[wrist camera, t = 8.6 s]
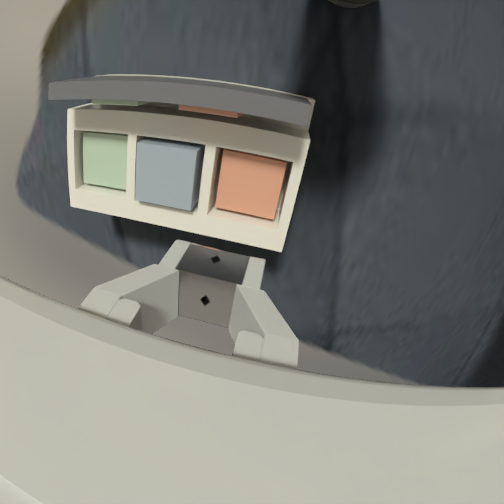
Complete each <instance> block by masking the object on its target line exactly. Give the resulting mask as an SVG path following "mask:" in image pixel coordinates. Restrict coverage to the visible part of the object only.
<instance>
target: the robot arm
mask: <svg viewBox="0 0 504 504" xmlns="http://www.w3.org/2000/svg"><path fill="white" fill-rule="evenodd" d="M265 262H266V260H265V259H261V258H256V257H251V256H245V255H240V254H236V253H231V252H226V251H221V250H219V249H215V248H211V247H207V246H203V245H199V244H195V243H191V242H187V241H183V240H176V241H175V242H174V243H173V245H172V246H171V247H170V249H169V250H168V252H167V253H166V255H165V256H164V258H163V259H162V260H161V262H160V263H159V265H157V264H153V265H150V266H148V267H145V268H143V269H140V270H137V271H135V272H132V273H130V274H127V275H124V276H122V277H119V278H117V279H114V280H112V281H109V282H107V283H104V284H102V285H99V286H97V287H94V289H93V290H92V291H91V293H90V294H89V295H88V296H87V297H86V299H85V300H84V301H83V302H82V304H81V305H80V306H79V308H78V309H77V308H74V307H72V306H69V305H67V304H64V303H62V302H59V301H57V300H54V299H52V298H49V297H47V296H45V295H42V294H40V293H37V292H35V291H33V290H31V289H28V288H26V287H24V286H22V285H19V284H17V283H15V282H13V281H11V280H9V279H6V278H4V277H2V276H0V504H504V387H447V386H428V385H413V384H401V383H390V382H380V381H371V380H363V379H355V378H348V377H340V376H333V375H326V374H320V373H314V372H308V371H302V370H297V365H298V349H299V348H298V347H299V340H298V339H297V338H296V336H295V335H294V333H293V332H292V330H291V329H290V327H289V326H288V324H287V323H286V322H285V320H284V319H283V317H282V316H281V314H280V313H279V311H278V310H277V308H276V307H275V306H274V304H273V303H272V301H271V300H270V298H269V297H268V295H267V294H266V292H265V291H264V290H260V287H261V282H262V277H263V272H264V267H265ZM178 315H179V316H183V317H187V318H191V319H196V320H200V321H204V322H207V323H211V324H215V325H218V326H222V327H226V328H228V330H229V332H230V335H231V338H232V340H233V343H234V345H235V347H234V351H233V354H232V356H230V355H226V354H222V353H218V352H213V351H210V350H206V349H202V348H198V347H195V346H191V345H187V344H183V343H180V342H176V341H173V340H169V339H166V338H162V337H159V336H156V335H152V334H153V333H154V332H155V331H157V330H159V329H160V328H161V327H163V326H164V325H166V324H167V323H169V322H170V321H172V320H173V319H175V318H176V317H178Z"/></svg>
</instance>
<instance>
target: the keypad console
mask: <svg viewBox="0 0 504 504" xmlns="http://www.w3.org/2000/svg"><path fill="white" fill-rule="evenodd" d="M58 99H92V103H89V104H85V105H81V106H77V107H73V108H70V109H68V112H67V154H68V177H69V191H70V203H71V207H76V208H81V209H86V210H90V211H95V212H100V213H104V214H109V215H114V216H118V217H123V218H128V219H132V220H137V221H141V222H146V223H151V224H155V225H160V226H164V227H169V228H174V229H178V230H183V231H187V232H192V233H197V234H201V235H206V236H210V237H215V238H219V239H224V240H228V241H233V242H237V243H242V244H246V245H251V246H255V247H260V248H264V249H269V250H273V251H278V252H282V249H283V245H284V242H285V238H286V234H287V230H288V227H289V223H290V219H291V215H292V211H293V208H294V204H295V200H296V196H297V192H298V188H299V184H300V180H301V176H302V172H303V168H304V164H305V160H306V156H307V152H308V148H309V144H310V136H309V132H308V130H309V125H310V121H311V117H312V113H313V108H314V104H315V100H314V99H313V98H309V97H305V96H301V95H297V94H292V93H287V92H283V91H278V90H273V89H268V88H262V87H257V86H251V85H245V84H238V83H232V82H224V81H217V80H208V79H199V78H189V77H177V76H162V75H138V74H110V75H100V76H94V77H86V78H78V79H71V80H64V81H58V82H52V83H49V92H48V100H58ZM85 131H96V132H108V133H119V134H128V144H127V175H126V190H124V189H118V188H113V187H107V186H101V185H95V184H89V183H84V174H83V132H85ZM148 137H155V138H163V139H171V140H178V141H185V142H191V143H198V144H204V145H205V153H204V160H203V168H202V177H201V185H200V194H199V200H198V202H197V203H196V204H195V206H194V207H193V208H192V210H191V211H188V210H183V209H178V208H173V207H168V206H163V205H158V204H153V203H148V202H143V201H138V200H135V181H136V154H137V142H139V141H141V140H144V139H146V138H148ZM225 148H227V149H232V150H238V151H243V152H248V153H253V154H258V155H263V156H267V157H272V158H277V159H281V160H286V161H287V165H286V169H285V174H284V178H283V182H282V187H281V191H280V195H279V200H278V204H277V208H276V212H275V217H274V220H273V219H268V218H264V217H259V216H255V215H250V214H246V213H241V212H236V211H232V210H227V209H222V208H217V207H215V205H216V197H217V190H218V183H219V176H220V170H221V163H222V156H223V150H224V149H225Z"/></svg>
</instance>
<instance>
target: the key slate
mask: <svg viewBox="0 0 504 504" xmlns="http://www.w3.org/2000/svg"><path fill="white" fill-rule="evenodd" d="M204 153H205V145H204V144H198V143H191V142H185V141H178V140H171V139H163V138H155V137H148V138H146V139H144V140H141V141H139V142H137V154H136V181H135V200H138V201H143V202H148V203H153V204H158V205H163V206H168V207H173V208H178V209H183V210H188V211H191V210H192V208H193V207H194V206H195V204H196V203H197V202H198V200H199V194H200V185H201V177H202V168H203V160H204Z"/></svg>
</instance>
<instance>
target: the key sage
mask: <svg viewBox="0 0 504 504" xmlns="http://www.w3.org/2000/svg"><path fill="white" fill-rule="evenodd" d="M127 144H128V134H119V133H108V132H96V131H85V132H83V174H84V183H89V184H95V185H101V186H107V187H113V188H118V189H124V190H126V175H127Z"/></svg>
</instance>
